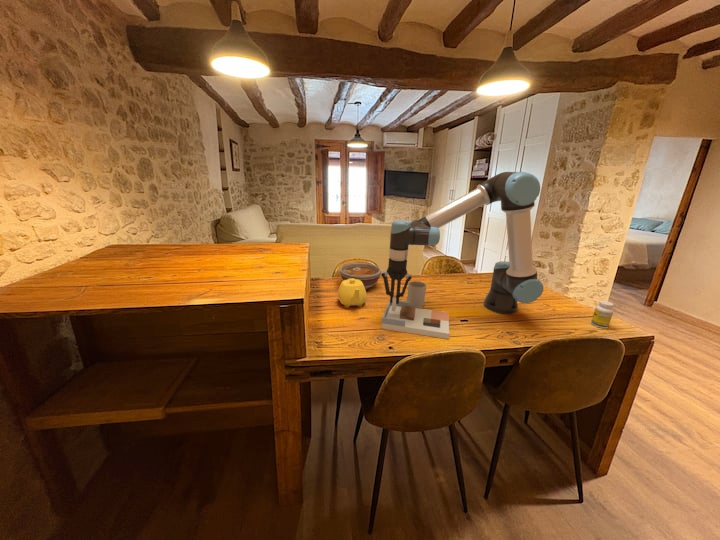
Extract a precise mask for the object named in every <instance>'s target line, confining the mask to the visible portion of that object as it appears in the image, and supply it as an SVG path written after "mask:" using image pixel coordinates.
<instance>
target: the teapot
mask: <svg viewBox="0 0 720 540" xmlns="http://www.w3.org/2000/svg"><path fill="white" fill-rule="evenodd" d="M366 290H367V289H365V287H364V285H363V283H362V281H360V280H357V279H354V278H351V279H348V280H344V281H343V280H342V281H341V282H340V285H339V287H338V292H337V298H338V300H339V302H340V303H341V305H344V308H346V309H348V308H350V307H351V306H357V307H359V308H361V307H363V305H364V304H365V303H366V302H367V299H368V294H367V291H366Z"/></svg>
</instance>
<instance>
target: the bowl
mask: <svg viewBox="0 0 720 540" xmlns="http://www.w3.org/2000/svg"><path fill="white" fill-rule="evenodd" d="M339 274H340V277H341V279H342V281H344V280H348V279H351V278H354V279H357V280H360V281H362V283H363V285H364V287H365V290H367V289H370V288H371V287H373V286H374V285H375V284H376V283H377V282H378V281H379V279H380V276H381V274H382V270H381V268H380V267H379V266H377V265H375V264H370V263H366V262H351V263H348V264H347V263H346V264H344V265H342V266H341V267H340V268H339Z"/></svg>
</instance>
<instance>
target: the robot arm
mask: <svg viewBox="0 0 720 540" xmlns="http://www.w3.org/2000/svg"><path fill="white" fill-rule="evenodd" d="M540 192H541V184H540V181H539V179H538V178H537V176H536V175H534V174H532V173H530V172H527V171H503V172H500V173H498V174H495V175H494V176H492V177H490V178H488V179H486V180H485V181H483V182H481V183H478V185H477V186H476V188H475V189H473V190H471V191H469V192H468V193H465V194H464V195H462V196H460V197H458V198H456V199H455V200H452V201H450V202H448V203H447V204H445V205H443V206H441V207H439V208H437V209H436V210H434V211H432V212H431V213H429V214H427V215H425V216H423V217H421V218H419V219H414V220H411V221H409V220H404V219H396V220H393V221H392V222H391V228H390V236H389V237H390V238H389V239H390V241H389V252H388V253H389V254H388V257H389V258H388V266H387V269H386V270H385V271H382V272H381V274H380V276H381V277H382V279H383V283H384V288H385V289H384V290H385V294H386V295H387V296H389V301H390V303H392V311H395V310H396V304H398V303H399V301H400V298H403V297H404V296H405V292H406V290H407V288H408V284H409V282H411V280H412V277H413V275H412V274H409V273H408V270H407V266H408V264H407V263H408V254H409V246H426V247H427V246H428V247H430V246H437V245H438V244H439V243H440V240H441V239H440V238H441V232H440V228H442V227H443V226H445V225H447V224H449V223H452V222H453V221H455V220H457V219H459V218H460V217H463V216H464V215H467V214H469V213H470V212H472V211H475V210H476V209H478V208H480V207H482V206H484V205H487V206H489V205H491V204H493V203H495V202H500V207H501V208H500V209H501V211H502V212H503V213H505V218H506V231H507V232H506V235H507V245H508V246H507V248H508V261H503V260H502V261H497V262H495V264H494V267H493V272H492V276H491V277H492V278H491V282H490V289H489V291H488V293H487V295H486V297H485V298H484V301H483V306H484V307H485V308H486V309H487V310H489V311H491V312H495V313H498V314H504V315H507V314H508V315H510V314H516V312H518V307H519V304H518V303H520V304H521V303H522V304H530V303H533V302H535V301H536V300H538V298H540V297H541V296H542V295H543V292H544V285H543V282H542V281H541V280H539V279H538V269H537V268H536V267H535V266H534V265H533V243H532V242H533V240H532V239H533V238H532V222H531V221H532V220H531V210H532V209H533V208H534V207H535V201H536V200H537V198H538V197H539V196H540ZM388 276H389V278H390V279H391V280H390V282H391V283H390V285H389V278H388ZM404 278H405V281H404V285H403V288H402V290H401V287H402V286H401V285H402V280H403V279H404ZM396 281H397V282H396ZM395 283H396V294H395Z"/></svg>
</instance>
